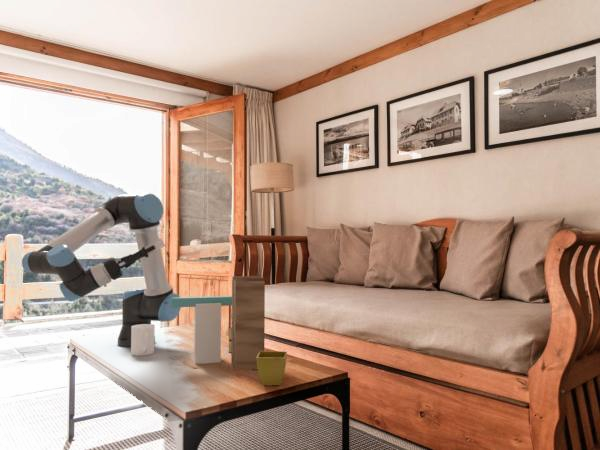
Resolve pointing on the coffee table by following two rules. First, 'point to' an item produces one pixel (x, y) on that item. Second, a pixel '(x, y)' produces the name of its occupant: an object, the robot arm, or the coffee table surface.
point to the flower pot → (271, 367)
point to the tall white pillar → (207, 333)
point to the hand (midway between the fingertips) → (163, 242)
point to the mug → (142, 339)
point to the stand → (247, 321)
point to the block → (201, 301)
